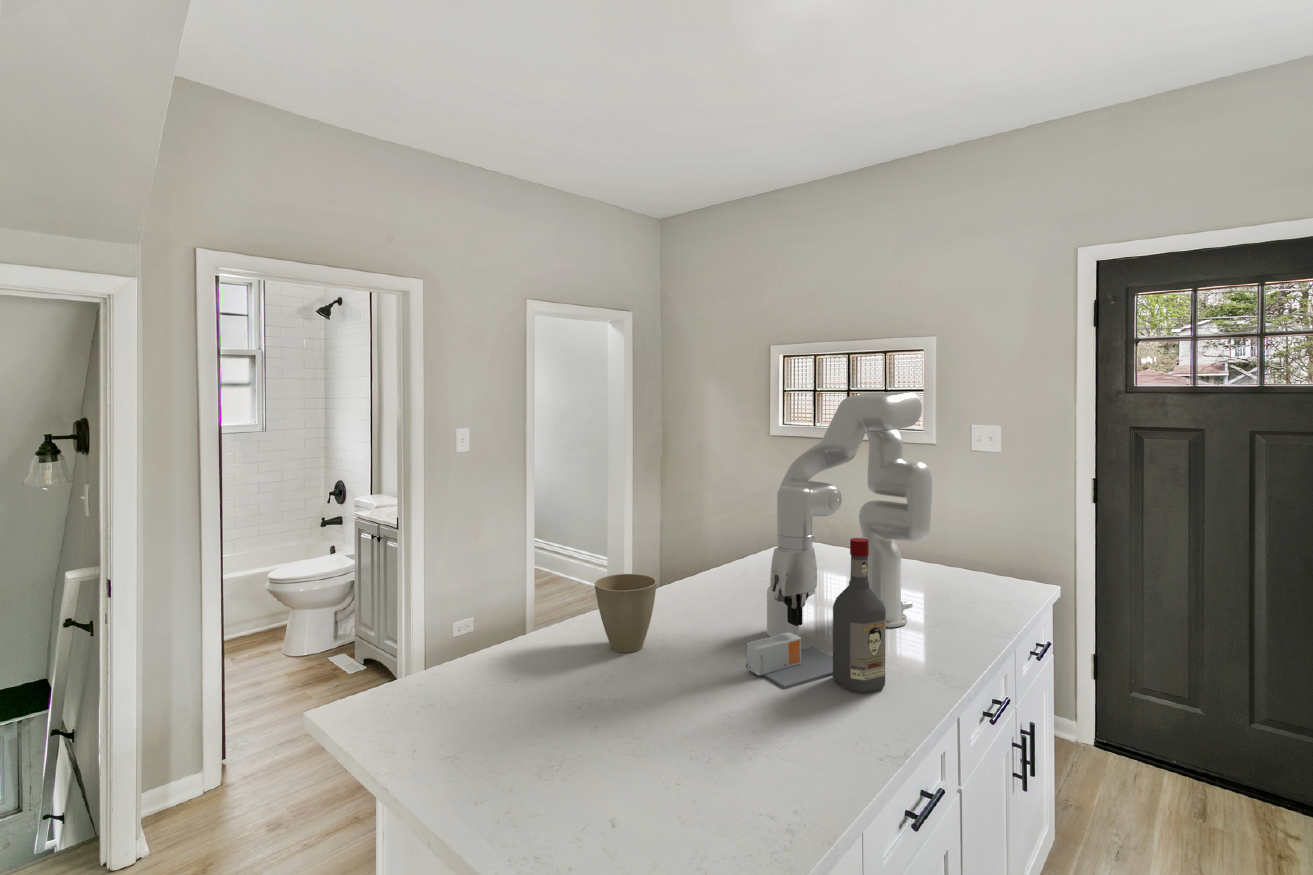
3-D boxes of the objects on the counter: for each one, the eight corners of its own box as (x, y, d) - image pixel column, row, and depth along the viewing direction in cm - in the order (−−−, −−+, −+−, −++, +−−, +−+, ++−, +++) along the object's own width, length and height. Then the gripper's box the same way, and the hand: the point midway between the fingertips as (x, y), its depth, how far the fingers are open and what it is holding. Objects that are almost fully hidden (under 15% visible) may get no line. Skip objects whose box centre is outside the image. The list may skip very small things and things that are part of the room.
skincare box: (802, 663, 141) (758, 676, 135) (789, 657, 144) (746, 669, 139) (802, 637, 140) (758, 648, 134) (789, 630, 144) (746, 642, 138)
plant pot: (670, 645, 154) (669, 580, 153) (626, 664, 143) (625, 595, 142) (627, 630, 164) (626, 569, 163) (582, 647, 153) (581, 582, 152)
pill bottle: (799, 641, 155) (799, 580, 154) (766, 639, 157) (765, 579, 156) (799, 629, 163) (799, 571, 162) (767, 628, 164) (766, 570, 163)
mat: (812, 648, 150) (812, 646, 150) (853, 668, 139) (853, 666, 139) (746, 665, 142) (746, 663, 141) (784, 688, 130) (784, 686, 130)
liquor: (826, 678, 135) (826, 537, 133) (861, 670, 138) (861, 533, 136) (856, 696, 126) (856, 546, 124) (892, 687, 130) (893, 541, 128)
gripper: (809, 535, 147) (809, 613, 149) (756, 542, 140) (757, 624, 141) (832, 541, 141) (832, 622, 142) (778, 549, 134) (779, 635, 135)
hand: (794, 623), depth 142 cm, fingers closed
